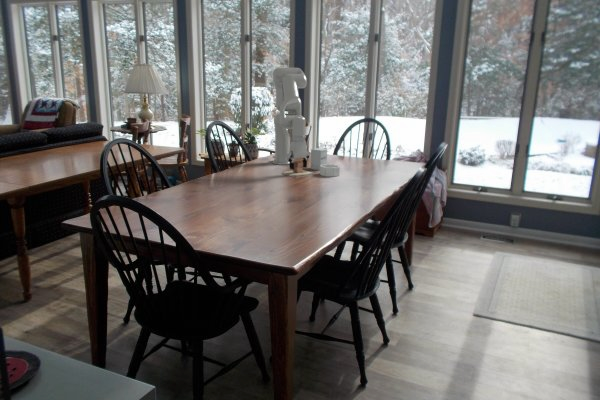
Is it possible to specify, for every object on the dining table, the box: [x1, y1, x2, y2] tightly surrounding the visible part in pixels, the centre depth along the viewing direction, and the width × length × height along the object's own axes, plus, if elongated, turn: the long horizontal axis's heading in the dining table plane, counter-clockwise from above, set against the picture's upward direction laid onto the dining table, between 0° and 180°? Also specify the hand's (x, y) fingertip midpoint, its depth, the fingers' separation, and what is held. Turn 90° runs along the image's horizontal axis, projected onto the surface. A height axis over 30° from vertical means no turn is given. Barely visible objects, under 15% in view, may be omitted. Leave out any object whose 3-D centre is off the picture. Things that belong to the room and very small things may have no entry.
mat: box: [280, 172, 315, 179], centre depth 289 cm, size 14×14×1 cm
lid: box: [281, 160, 315, 178], centre depth 288 cm, size 13×13×7 cm
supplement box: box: [310, 147, 328, 171], centre depth 303 cm, size 7×7×13 cm
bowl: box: [319, 163, 341, 178], centre depth 288 cm, size 11×11×6 cm
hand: (298, 168), depth 288 cm, fingers open, 9 cm apart
